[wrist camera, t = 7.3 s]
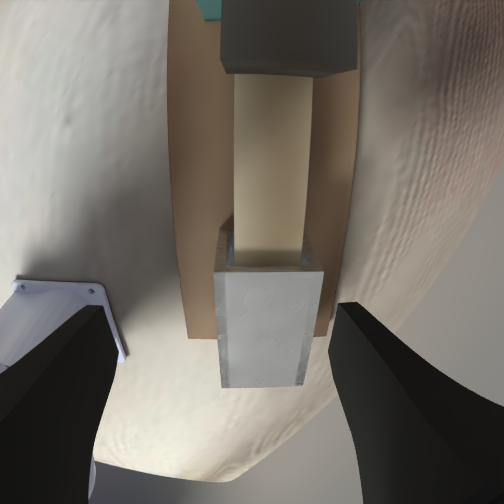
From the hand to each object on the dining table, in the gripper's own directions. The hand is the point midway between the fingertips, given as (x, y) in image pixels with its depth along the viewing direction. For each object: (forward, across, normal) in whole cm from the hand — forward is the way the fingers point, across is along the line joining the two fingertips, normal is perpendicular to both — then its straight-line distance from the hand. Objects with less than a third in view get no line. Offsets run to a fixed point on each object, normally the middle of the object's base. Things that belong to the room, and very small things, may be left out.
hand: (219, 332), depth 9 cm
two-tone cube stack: (+8, -2, -6) cm, 10 cm away
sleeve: (+9, -2, +5) cm, 10 cm away
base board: (+10, -2, -2) cm, 11 cm away
